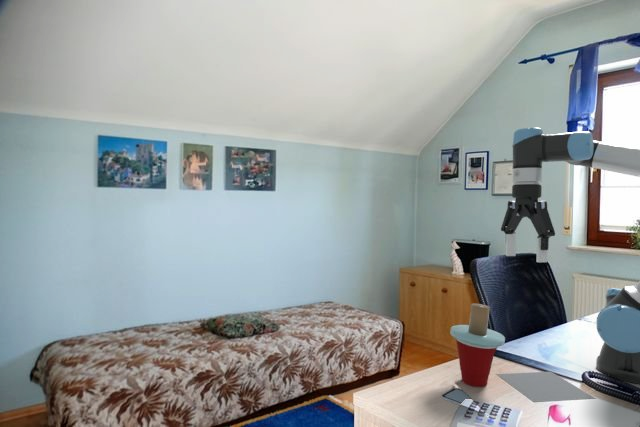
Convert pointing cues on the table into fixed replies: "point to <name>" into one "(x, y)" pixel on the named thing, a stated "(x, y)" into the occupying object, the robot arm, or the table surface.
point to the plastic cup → (475, 363)
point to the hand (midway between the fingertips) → (525, 259)
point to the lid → (478, 329)
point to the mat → (544, 386)
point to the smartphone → (455, 396)
